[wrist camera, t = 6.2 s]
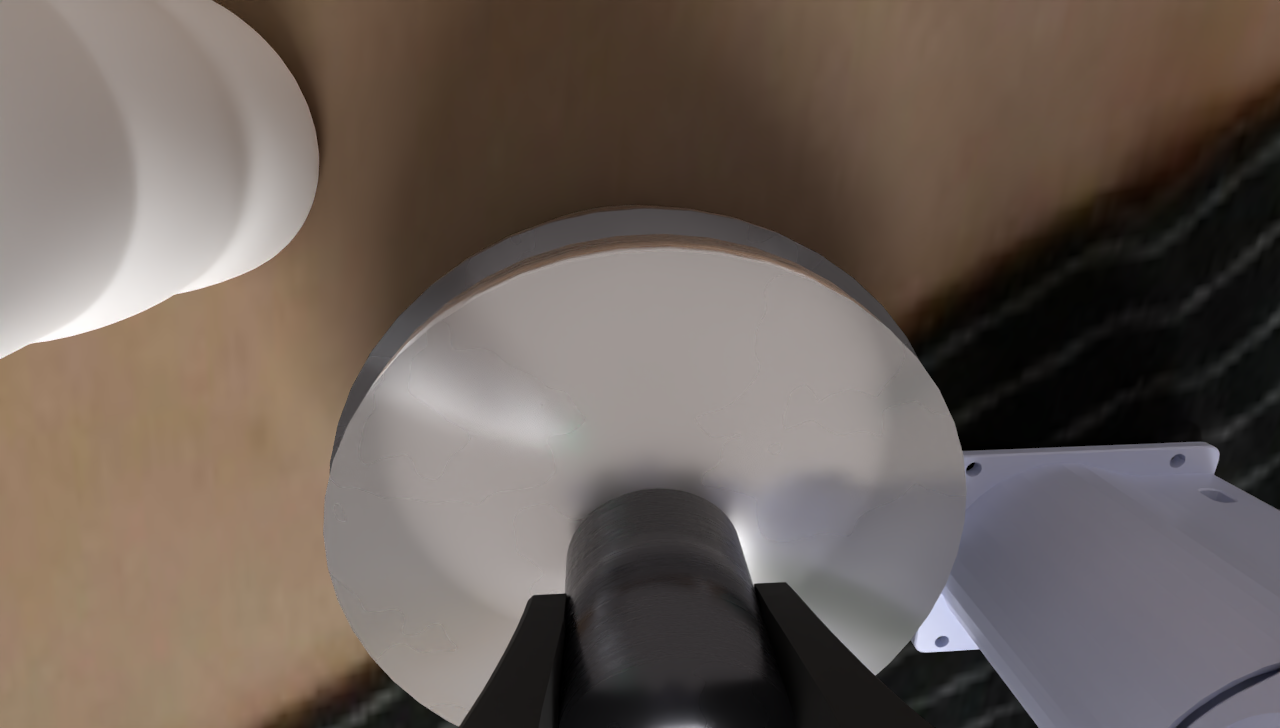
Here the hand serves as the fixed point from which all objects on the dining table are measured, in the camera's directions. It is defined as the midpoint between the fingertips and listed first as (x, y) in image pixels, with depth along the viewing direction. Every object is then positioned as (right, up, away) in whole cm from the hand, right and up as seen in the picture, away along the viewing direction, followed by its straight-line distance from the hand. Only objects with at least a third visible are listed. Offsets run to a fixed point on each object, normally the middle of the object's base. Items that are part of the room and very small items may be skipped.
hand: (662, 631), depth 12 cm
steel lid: (0, +1, +2) cm, 3 cm away
